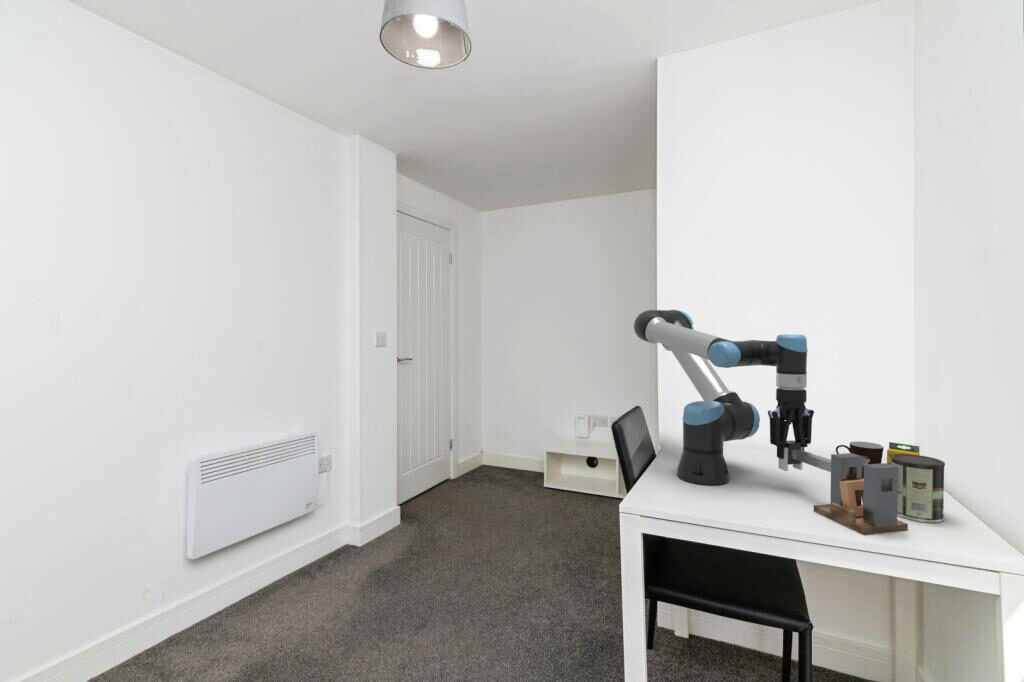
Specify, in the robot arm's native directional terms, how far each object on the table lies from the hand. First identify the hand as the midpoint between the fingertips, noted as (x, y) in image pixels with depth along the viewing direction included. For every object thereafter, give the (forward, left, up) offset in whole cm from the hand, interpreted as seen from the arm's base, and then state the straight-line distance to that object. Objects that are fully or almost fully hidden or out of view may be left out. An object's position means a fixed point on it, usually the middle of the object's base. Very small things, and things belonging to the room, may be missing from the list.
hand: (790, 468), depth 136 cm
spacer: (+23, 0, -5) cm, 23 cm away
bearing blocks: (+23, 0, -5) cm, 23 cm away
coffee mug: (-7, +32, -6) cm, 33 cm away
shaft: (+8, 0, +2) cm, 9 cm away
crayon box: (+2, +37, -6) cm, 38 cm away
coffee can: (+22, +17, -6) cm, 28 cm away
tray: (+22, 0, -6) cm, 23 cm away
